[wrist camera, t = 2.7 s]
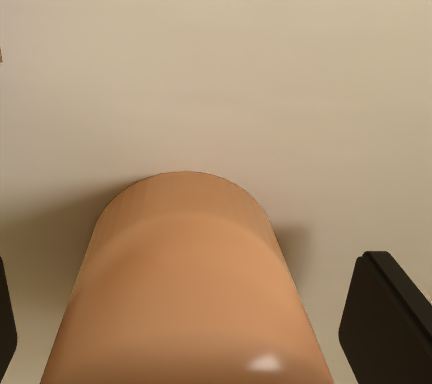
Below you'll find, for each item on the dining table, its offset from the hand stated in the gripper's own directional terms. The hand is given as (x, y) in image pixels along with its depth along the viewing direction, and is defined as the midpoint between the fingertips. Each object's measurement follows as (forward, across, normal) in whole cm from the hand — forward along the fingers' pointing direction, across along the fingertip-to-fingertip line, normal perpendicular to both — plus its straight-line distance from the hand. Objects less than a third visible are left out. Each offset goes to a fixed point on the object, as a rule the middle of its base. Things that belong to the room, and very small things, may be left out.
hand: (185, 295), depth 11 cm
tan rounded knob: (+2, 0, 0) cm, 2 cm away
